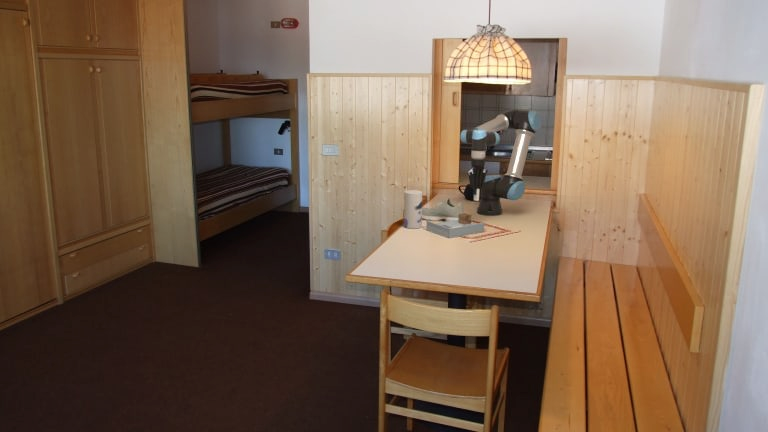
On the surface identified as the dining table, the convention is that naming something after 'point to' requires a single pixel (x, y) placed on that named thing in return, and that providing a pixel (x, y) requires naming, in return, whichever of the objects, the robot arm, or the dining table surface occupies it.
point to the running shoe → (443, 211)
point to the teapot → (469, 192)
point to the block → (464, 218)
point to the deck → (454, 228)
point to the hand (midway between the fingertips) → (476, 200)
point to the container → (413, 209)
